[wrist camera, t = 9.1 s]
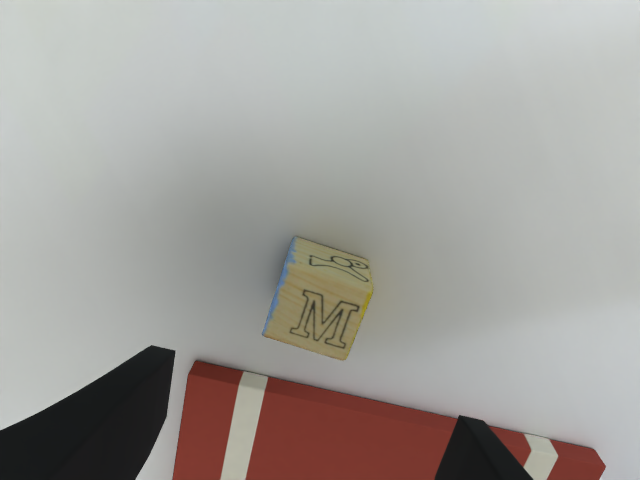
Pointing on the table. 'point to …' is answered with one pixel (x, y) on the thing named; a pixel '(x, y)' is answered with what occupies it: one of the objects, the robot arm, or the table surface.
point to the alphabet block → (319, 299)
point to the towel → (331, 435)
